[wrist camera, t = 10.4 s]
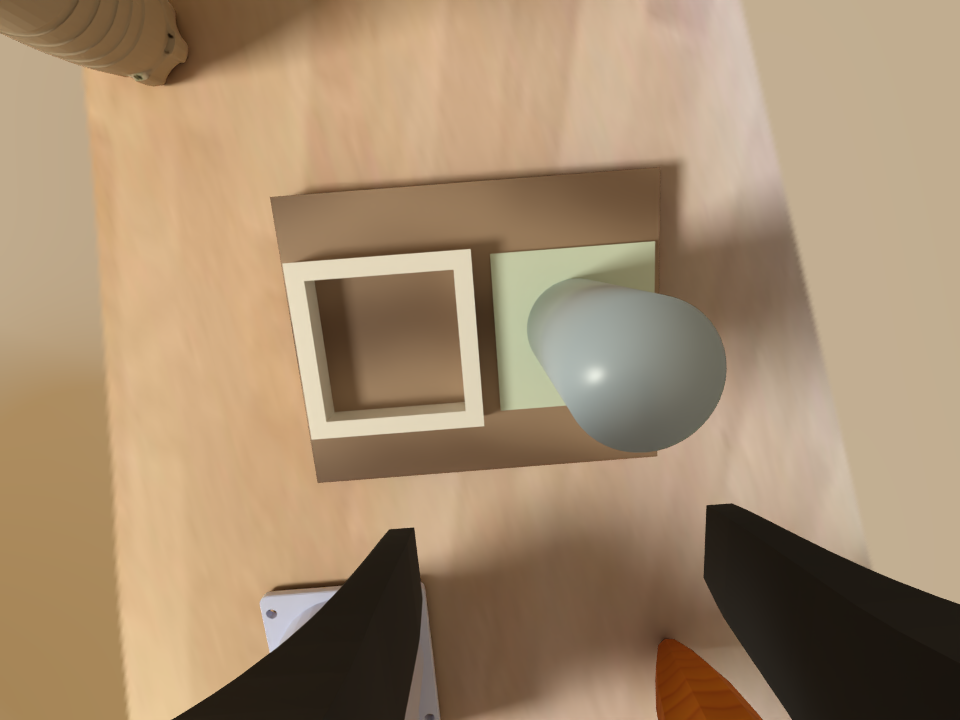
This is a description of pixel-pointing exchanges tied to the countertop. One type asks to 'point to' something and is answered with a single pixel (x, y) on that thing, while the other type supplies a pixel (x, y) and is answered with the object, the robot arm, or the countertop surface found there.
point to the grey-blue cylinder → (628, 362)
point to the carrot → (694, 688)
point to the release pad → (520, 287)
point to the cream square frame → (314, 356)
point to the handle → (101, 34)
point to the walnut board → (448, 309)
